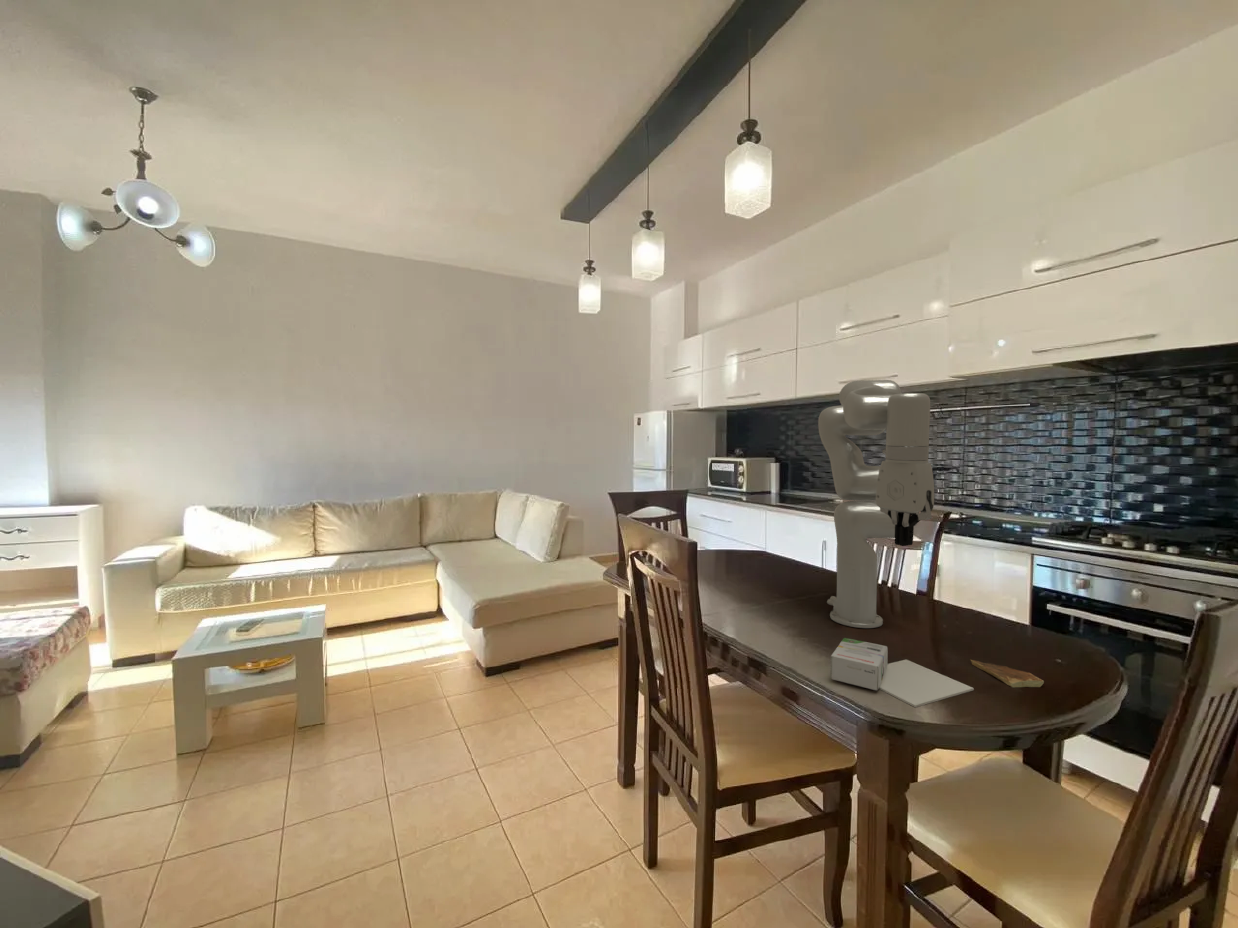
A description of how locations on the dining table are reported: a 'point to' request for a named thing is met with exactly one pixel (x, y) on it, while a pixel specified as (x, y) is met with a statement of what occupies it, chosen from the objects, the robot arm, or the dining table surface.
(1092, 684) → the dining table surface
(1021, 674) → the shard
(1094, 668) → the dining table surface
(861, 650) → the ink box
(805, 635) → the dining table surface
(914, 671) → the grey mat
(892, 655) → the dining table surface
